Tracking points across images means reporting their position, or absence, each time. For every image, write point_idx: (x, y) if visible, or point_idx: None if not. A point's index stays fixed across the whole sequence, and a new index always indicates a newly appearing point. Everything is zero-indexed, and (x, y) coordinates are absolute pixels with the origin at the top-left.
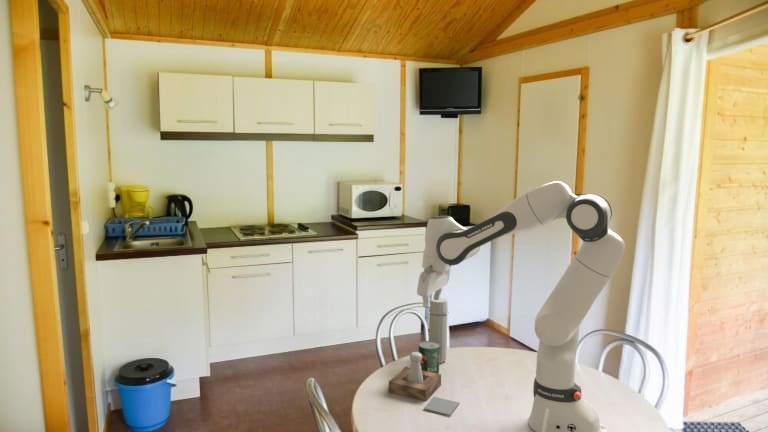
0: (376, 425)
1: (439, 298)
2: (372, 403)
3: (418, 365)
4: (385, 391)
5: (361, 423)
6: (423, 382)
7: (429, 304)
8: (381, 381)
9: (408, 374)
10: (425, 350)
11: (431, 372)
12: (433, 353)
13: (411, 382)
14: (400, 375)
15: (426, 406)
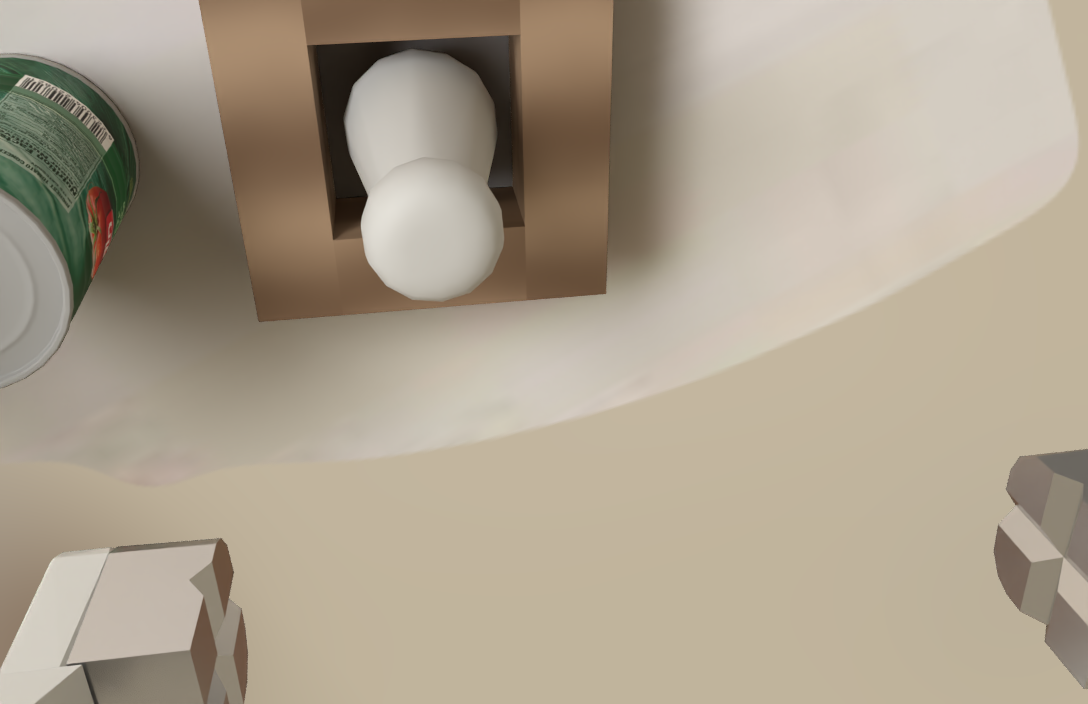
0: (1066, 80)
1: (76, 563)
2: (791, 257)
3: (450, 154)
4: None
5: (1063, 177)
6: (473, 30)
7: (1071, 475)
8: (450, 378)
9: None
10: (72, 259)
11: (215, 60)
12: (17, 166)
13: (531, 127)
14: None
15: None
